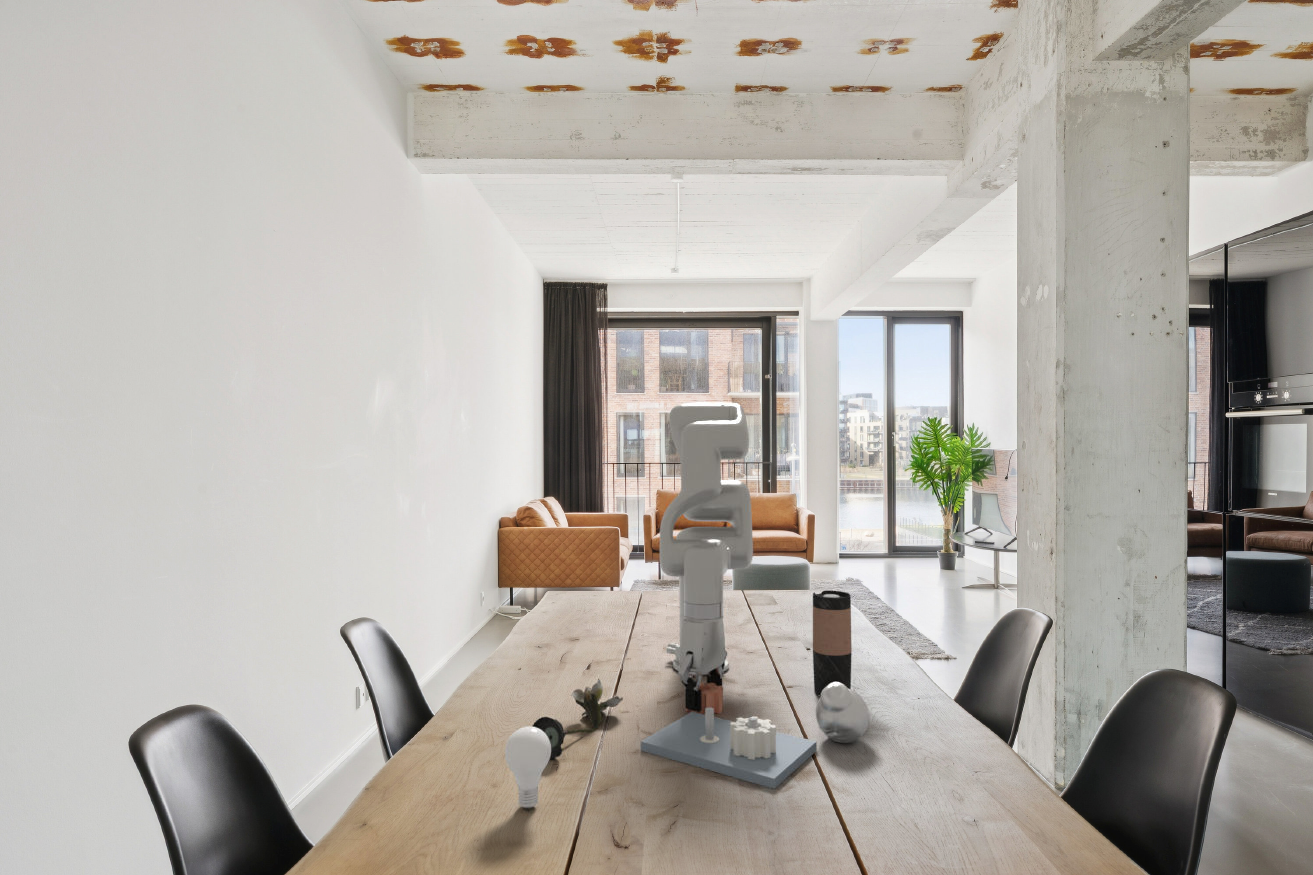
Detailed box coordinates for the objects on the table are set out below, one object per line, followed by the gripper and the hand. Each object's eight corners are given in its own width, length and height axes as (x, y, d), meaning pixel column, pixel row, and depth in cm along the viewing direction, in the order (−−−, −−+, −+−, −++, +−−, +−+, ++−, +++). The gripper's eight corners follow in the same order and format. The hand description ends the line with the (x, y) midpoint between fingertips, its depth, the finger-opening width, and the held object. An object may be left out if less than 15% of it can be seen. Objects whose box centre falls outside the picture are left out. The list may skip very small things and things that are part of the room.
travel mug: (853, 700, 142) (852, 598, 142) (813, 698, 143) (812, 597, 144) (850, 687, 149) (849, 590, 150) (812, 685, 151) (812, 589, 151)
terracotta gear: (678, 710, 137) (678, 689, 137) (698, 699, 143) (697, 679, 143) (710, 718, 133) (710, 696, 133) (729, 706, 139) (729, 686, 139)
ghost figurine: (802, 735, 125) (802, 677, 125) (848, 727, 129) (847, 670, 129) (834, 756, 117) (833, 693, 117) (881, 746, 120) (881, 686, 120)
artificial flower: (520, 763, 118) (511, 699, 121) (598, 732, 137) (590, 678, 140) (563, 758, 114) (553, 693, 117) (638, 727, 133) (628, 671, 136)
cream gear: (728, 757, 113) (728, 731, 113) (733, 739, 120) (733, 714, 120) (774, 761, 111) (774, 735, 111) (776, 742, 118) (776, 718, 118)
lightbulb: (507, 797, 104) (507, 720, 104) (552, 795, 104) (552, 718, 104) (502, 820, 97) (501, 737, 97) (549, 817, 98) (549, 735, 98)
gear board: (640, 750, 119) (640, 710, 119) (692, 719, 132) (691, 684, 133) (774, 788, 106) (774, 744, 106) (816, 750, 119) (816, 710, 119)
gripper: (709, 599, 147) (710, 687, 147) (661, 616, 133) (662, 713, 133) (742, 604, 143) (743, 694, 143) (696, 622, 129) (697, 722, 129)
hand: (704, 703), depth 138 cm, fingers closed on terracotta gear, 7 cm apart
